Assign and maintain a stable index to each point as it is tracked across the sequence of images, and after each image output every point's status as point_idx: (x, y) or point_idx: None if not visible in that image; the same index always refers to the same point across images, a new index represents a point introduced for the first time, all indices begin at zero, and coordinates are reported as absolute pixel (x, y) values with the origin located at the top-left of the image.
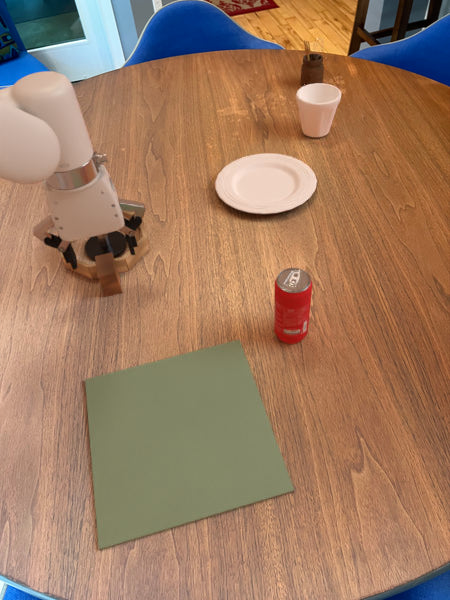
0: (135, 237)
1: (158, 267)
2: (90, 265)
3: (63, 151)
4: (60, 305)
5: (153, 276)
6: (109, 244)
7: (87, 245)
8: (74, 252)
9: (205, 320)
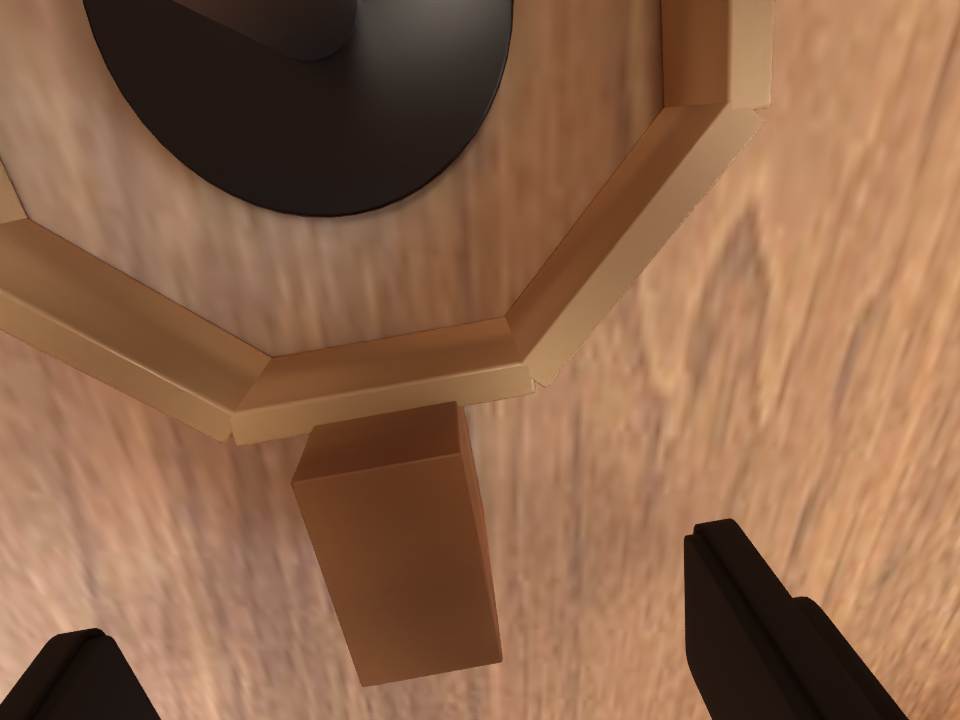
0: (842, 637)
1: (723, 336)
2: (246, 428)
3: None
4: (112, 560)
5: (678, 409)
6: (349, 35)
7: None
8: (67, 705)
9: None
